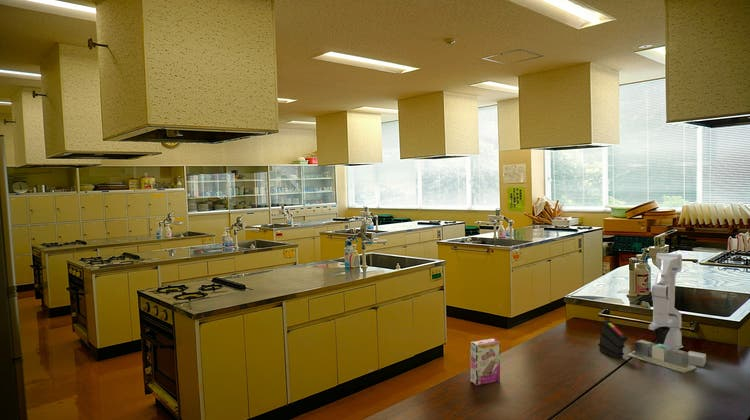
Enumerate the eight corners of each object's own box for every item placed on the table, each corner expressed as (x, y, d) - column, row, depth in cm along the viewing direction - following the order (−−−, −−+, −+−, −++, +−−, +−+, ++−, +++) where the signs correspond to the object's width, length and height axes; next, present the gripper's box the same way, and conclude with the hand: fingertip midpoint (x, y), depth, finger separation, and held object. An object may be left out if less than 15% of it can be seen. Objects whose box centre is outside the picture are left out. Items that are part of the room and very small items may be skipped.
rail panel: (639, 351, 221) (639, 337, 220) (696, 368, 200) (696, 352, 200) (627, 355, 216) (627, 340, 216) (684, 373, 195) (684, 356, 195)
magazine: (599, 344, 227) (610, 319, 220) (619, 365, 216) (631, 339, 209) (593, 345, 226) (603, 320, 219) (613, 366, 215) (625, 340, 208)
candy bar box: (477, 386, 188) (476, 345, 188) (470, 381, 193) (469, 341, 192) (501, 381, 192) (500, 341, 192) (493, 377, 197) (493, 337, 196)
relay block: (689, 359, 210) (689, 350, 210) (705, 363, 206) (705, 353, 205) (686, 363, 205) (686, 354, 205) (703, 367, 201) (703, 357, 201)
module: (657, 355, 211) (657, 343, 211) (669, 359, 207) (669, 346, 207) (652, 357, 209) (652, 345, 209) (664, 361, 205) (664, 348, 205)
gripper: (660, 317, 200) (660, 349, 201) (679, 311, 207) (679, 342, 208) (643, 313, 206) (643, 344, 207) (663, 308, 213) (663, 338, 214)
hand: (660, 343), depth 208 cm, fingers closed
